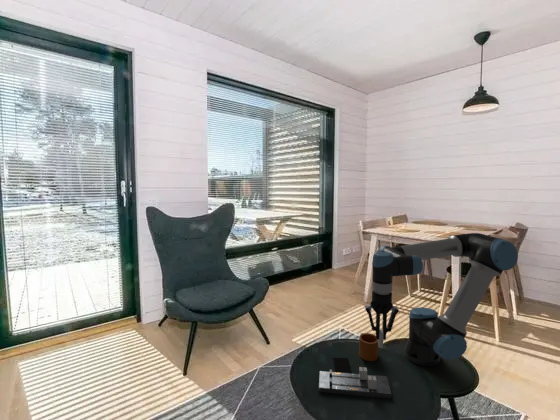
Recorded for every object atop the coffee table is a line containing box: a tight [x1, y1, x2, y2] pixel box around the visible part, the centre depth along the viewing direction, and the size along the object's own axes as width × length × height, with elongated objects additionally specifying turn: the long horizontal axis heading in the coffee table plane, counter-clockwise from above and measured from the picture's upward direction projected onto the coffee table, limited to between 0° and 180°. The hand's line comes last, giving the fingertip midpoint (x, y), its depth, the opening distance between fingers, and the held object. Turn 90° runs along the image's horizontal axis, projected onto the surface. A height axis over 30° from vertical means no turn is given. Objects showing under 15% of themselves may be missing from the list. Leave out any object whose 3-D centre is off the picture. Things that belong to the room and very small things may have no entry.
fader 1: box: [358, 366, 368, 380], centre depth 127 cm, size 3×2×4 cm
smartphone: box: [332, 357, 353, 374], centre depth 137 cm, size 7×1×15 cm
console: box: [318, 369, 393, 399], centre depth 126 cm, size 28×10×4 cm, turn 80°
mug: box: [358, 332, 379, 362], centre depth 147 cm, size 9×12×9 cm
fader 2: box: [368, 375, 377, 389], centre depth 122 cm, size 3×2×4 cm
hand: (380, 346), depth 124 cm, fingers closed
